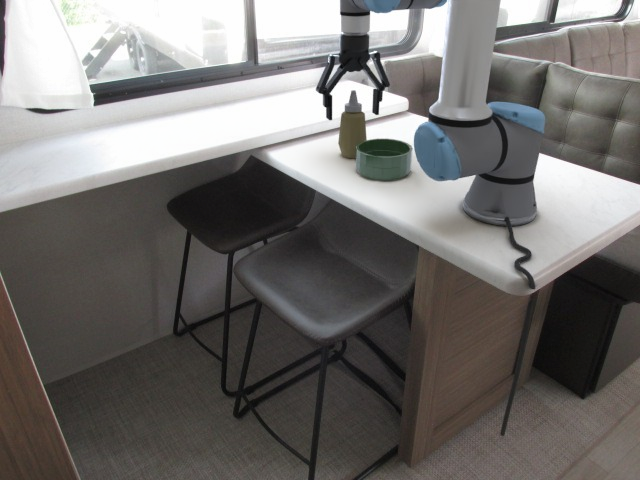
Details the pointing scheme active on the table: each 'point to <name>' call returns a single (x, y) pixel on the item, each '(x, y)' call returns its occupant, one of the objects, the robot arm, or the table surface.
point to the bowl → (383, 159)
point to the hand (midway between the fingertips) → (352, 116)
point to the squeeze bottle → (352, 127)
